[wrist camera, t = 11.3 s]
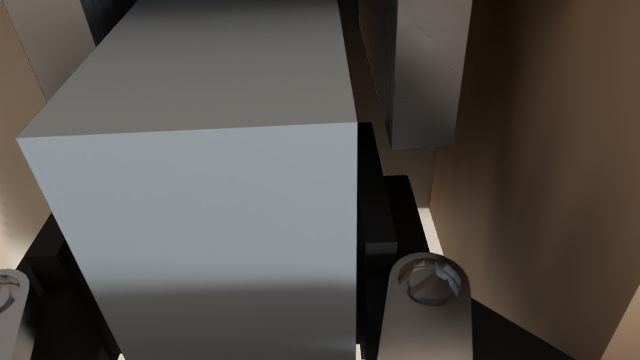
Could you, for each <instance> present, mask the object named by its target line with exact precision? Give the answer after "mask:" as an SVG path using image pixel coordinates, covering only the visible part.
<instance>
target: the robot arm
mask: <svg viewBox="0 0 640 360" xmlns="http://www.w3.org/2000/svg"><path fill="white" fill-rule="evenodd" d="M356 344H360V349H361V359H365V360H576V359H574V358H572V357H571V356H569V355H567V354H566V353H564V352H562V351H561V350H559V349H557V348H555V347H554V346H552V345H550V344H549V343H547V342H545V341H544V340H542V339H540V338H539V337H537V336H535V335H534V334H532V333H530V332H529V331H527V330H525V329H524V328H522V327H520V326H518V325H517V324H515V323H513V322H512V321H510V320H508V319H507V318H505V317H503V316H502V315H500V314H498V313H497V312H495V311H493V310H492V309H490V308H488V307H487V306H485V305H483V304H481V303H480V302H478V301H476V300H475V299H473V298H471V286H470V282H469V278H468V276H467V274H466V273H465V271H464V270H463V268H462V267H460V266H459V265H458V264H457V263H456V262H454V261H453V260H451V259H449V258H447V257H445V256H443V255H439V254H435V253H430V251H429V248H428V244H427V240H426V237H425V233H424V230H423V226H422V223H421V219H420V216H419V212H418V209H417V205H416V202H415V198H414V195H413V191H412V188H411V184H410V181H409V178H408V176H407V175H393V176H383V172H382V168H381V163H380V158H379V154H378V149H377V145H376V140H375V135H374V131H373V126H372V123H371V122H360V123H357V244H356ZM119 354H122V352H121V350H120V348H119V346H118V344H117V342H116V340H115V338H114V336H113V334H112V332H111V330H110V328H109V326H108V324H107V322H106V320H105V318H104V316H103V314H102V312H101V310H100V308H99V306H98V304H97V302H96V300H95V298H94V296H93V294H92V292H91V290H90V288H89V286H88V284H87V282H86V280H85V278H84V276H83V273H82V271H81V269H80V267H79V265H78V263H77V261H76V259H75V257H74V255H73V253H72V251H71V249H70V247H69V245H68V243H67V241H66V239H65V237H64V235H63V233H62V231H61V229H60V227H59V225H58V223H57V221H56V219H55V217H54V215H53V213H51V214H50V216H49V217H48V219H47V221H46V222H45V224H44V225H43V227H42V228H41V230H40V232H39V233H38V235H37V236H36V238H35V240H34V241H33V243H32V244H31V246H30V247H29V249H28V251H27V252H26V254H25V255H24V257H23V259H22V260H21V262H20V263H19V265H18V266H17V268H16V270H13V269H0V360H118V357H119Z"/></svg>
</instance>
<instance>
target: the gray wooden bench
mask: <svg viewBox="0 0 640 360" xmlns="http://www.w3.org/2000/svg"><path fill="white" fill-rule="evenodd" d="M2 1H3V3H4V5H5V8H6V10H7V12H8V14H9V17H10V19H11V21H12V23H13V26H14V28H15V30H16V33H17V35H18V37H19V39H20V42H21V44H22V46H23V48H24V51H25V53H26V55H27V58H28V60H29V62H30V64H31V67H32V69H33V71H34V73H35V76H36V78H37V80H38V83H39V85H40V87H41V89H42V92H43V94H44V96H45V98H46V101H47V102H48V101H49V100H50V99H51V98H52V97H53V95H54V94H55V93H56V92H57V91H58V90H59V89H60V88H61V86H62V85H63V84H64V83H65V82H66V81H67V80H68V79H69V78H70V76H71V75H72V74H73V73H74V72H75V71H76V70H77V69H78V67H79V66H80V65H81V64H82V63H83V62H84V61H85V60H86V58H87V57H88V56H89V55H90V54H91V53H92V52H93V51H94V49H95V48H96V47H97V46H98V45H99V44H100V43H101V42H102V40H103V39H104V38H105V37H106V36H107V35H108V34H109V33H110V31H111V30H112V29H113V28H114V27H115V26H116V25H117V24H118V22H119V21H120V20H121V19H122V18H123V17H124V16H125V15H126V14H127V12H128V11H129V10H130V9H131V8H132V7H133V6H134V5H135V3H136V2H137V1H138V0H2ZM471 7H472V0H359V26H360V30H361V34H362V37H363V41H364V45H365V49H366V53H367V57H368V61H369V65H370V69H371V72H372V76H373V80H374V84H375V88H376V92H377V96H378V100H379V104H380V107H381V111H382V115H383V119H384V123H385V127H386V131H387V135H388V139H389V142H390V146H391V150H403V149H421V148H438V147H453V140H454V133H455V126H456V118H457V111H458V103H459V96H460V89H461V81H462V74H463V66H464V59H465V52H466V44H467V37H468V30H469V22H470V15H471Z"/></svg>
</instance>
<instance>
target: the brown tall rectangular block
mask: <svg viewBox="0 0 640 360" xmlns="http://www.w3.org/2000/svg"><path fill="white" fill-rule="evenodd" d="M429 210H430V213H431V216H432V219H433V222H434V226H435V229H436V232H437V235H438V238H439V242H440V245H441V248H442V251H443V254H444V256H445V257H447V258H449V259H451V260H453V261H454V262H456V263H457V264H458V265H459V266H460V267H462V268H463V270H464V271H465V273H466V274H467V276H468V278H469V282H470V286H471V298H473V299H475V300H476V301H478V302H480V303H481V304H483V305H485V306H487V307H488V308H490V309H492V310H493V311H495V312H497V313H498V314H500V315H502V316H503V317H505V318H507V319H508V320H510V321H512V322H513V323H515V324H517V325H518V326H520V327H522V328H524V329H525V330H527V331H529V332H530V333H532V334H534V335H535V336H537V337H539V338H540V339H542V340H544V341H545V342H547V343H549V344H550V345H552V346H554V347H555V348H557V349H559V350H561V351H562V352H564V353H566V354H567V355H569V356H571V357H572V358H574V359H576V360H640V0H472V7H471V15H470V22H469V30H468V37H467V44H466V52H465V59H464V66H463V74H462V81H461V89H460V96H459V103H458V111H457V118H456V126H455V133H454V140H453V147H438V148H436V153H435V162H434V171H433V180H432V189H431V198H430V207H429Z"/></svg>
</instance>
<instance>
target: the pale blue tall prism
mask: <svg viewBox="0 0 640 360" xmlns="http://www.w3.org/2000/svg"><path fill="white" fill-rule="evenodd" d="M16 140H17V142H18V144H19V147H20V149H21V151H22V153H23V155H24V157H25V159H26V161H27V163H28V165H29V167H30V169H31V171H32V173H33V175H34V177H35V179H36V181H37V183H38V185H39V187H40V189H41V191H42V193H43V195H44V197H45V199H46V201H47V203H48V205H49V207H50V209H51V211H52V213H53V215H54V217H55V219H56V221H57V223H58V225H59V227H60V229H61V231H62V233H63V235H64V237H65V239H66V241H67V243H68V245H69V247H70V249H71V251H72V253H73V255H74V257H75V259H76V261H77V263H78V265H79V267H80V269H81V271H82V273H83V276H84V278H85V280H86V282H87V284H88V286H89V288H90V290H91V292H92V294H93V296H94V298H95V300H96V302H97V304H98V306H99V308H100V310H101V312H102V314H103V316H104V318H105V320H106V322H107V324H108V326H109V328H110V330H111V332H112V334H113V336H114V338H115V340H116V342H117V344H118V346H119V348H120V350H121V352H122V354H123V356H124V358H125V360H356V244H357V117H356V111H355V105H354V99H353V93H352V87H351V81H350V75H349V69H348V63H347V57H346V51H345V45H344V39H343V33H342V27H341V21H340V14H339V8H338V2H337V0H138V1H137V2H136V3H135V5H134V6H133V7H132V8H131V9H130V10H129V11H128V12H127V14H126V15H125V16H124V17H123V18H122V19H121V20H120V21H119V22H118V24H117V25H116V26H115V27H114V28H113V29H112V30H111V31H110V33H109V34H108V35H107V36H106V37H105V38H104V39H103V40H102V42H101V43H100V44H99V45H98V46H97V47H96V48H95V49H94V51H93V52H92V53H91V54H90V55H89V56H88V57H87V58H86V60H85V61H84V62H83V63H82V64H81V65H80V66H79V67H78V69H77V70H76V71H75V72H74V73H73V74H72V75H71V76H70V78H69V79H68V80H67V81H66V82H65V83H64V84H63V85H62V86H61V88H60V89H59V90H58V91H57V92H56V93H55V94H54V95H53V97H52V98H51V99H50V100H49V101H48V102H47V103H46V104H45V106H44V107H43V108H42V109H41V110H40V111H39V112H38V113H37V115H36V116H35V117H34V118H33V119H32V120H31V121H30V122H29V124H28V125H27V126H26V127H25V128H24V129H23V130H22V131H21V133H20V134H19V135H18V136H17V137H16Z"/></svg>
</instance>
